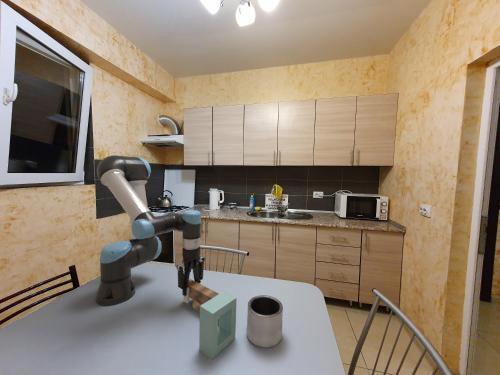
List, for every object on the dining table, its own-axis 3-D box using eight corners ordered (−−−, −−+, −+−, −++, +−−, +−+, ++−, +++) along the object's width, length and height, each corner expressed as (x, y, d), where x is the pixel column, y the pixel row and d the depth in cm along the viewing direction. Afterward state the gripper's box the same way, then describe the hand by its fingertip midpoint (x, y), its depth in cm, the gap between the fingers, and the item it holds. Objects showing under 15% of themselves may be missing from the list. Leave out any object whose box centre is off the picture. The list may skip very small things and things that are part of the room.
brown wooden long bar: (182, 293, 93) (182, 282, 92) (190, 289, 96) (190, 278, 95) (218, 315, 79) (218, 302, 79) (225, 309, 83) (226, 297, 82)
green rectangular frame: (199, 348, 69) (199, 305, 68) (222, 329, 77) (223, 291, 76) (211, 359, 65) (212, 313, 64) (235, 337, 74) (236, 297, 73)
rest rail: (192, 307, 90) (192, 298, 89) (197, 304, 92) (197, 295, 92) (212, 319, 82) (212, 309, 82) (217, 315, 85) (217, 306, 84)
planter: (272, 356, 67) (273, 322, 66) (239, 338, 74) (240, 307, 73) (287, 331, 78) (288, 302, 77) (257, 318, 84) (258, 291, 83)
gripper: (179, 254, 82) (178, 312, 83) (212, 243, 96) (211, 294, 97) (168, 250, 86) (168, 305, 88) (201, 240, 100) (200, 288, 102)
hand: (190, 299), depth 92 cm, fingers closed on brown wooden long bar, 4 cm apart
